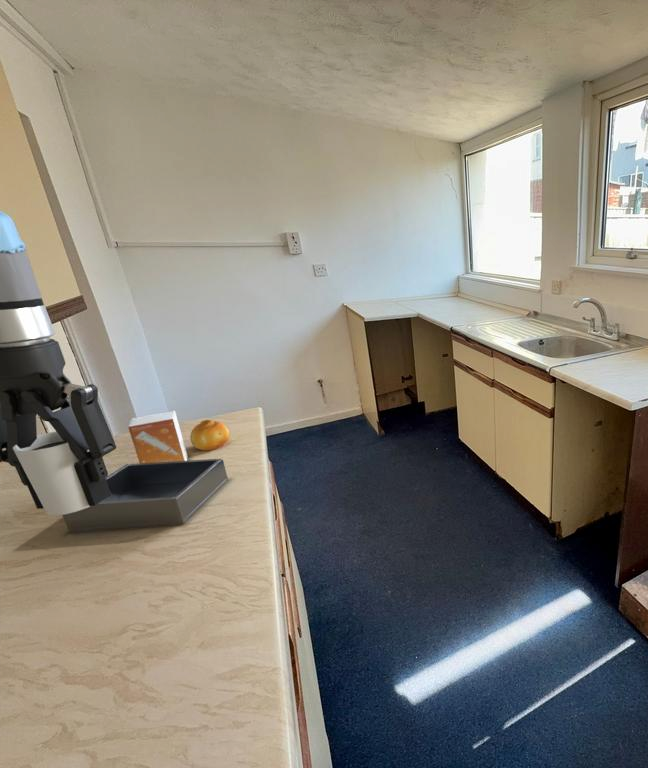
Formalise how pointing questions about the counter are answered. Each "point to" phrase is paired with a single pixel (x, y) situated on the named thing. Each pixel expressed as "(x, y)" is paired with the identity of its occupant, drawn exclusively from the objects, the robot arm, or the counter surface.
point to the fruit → (209, 435)
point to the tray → (152, 495)
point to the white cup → (53, 474)
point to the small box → (158, 438)
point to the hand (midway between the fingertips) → (75, 501)
